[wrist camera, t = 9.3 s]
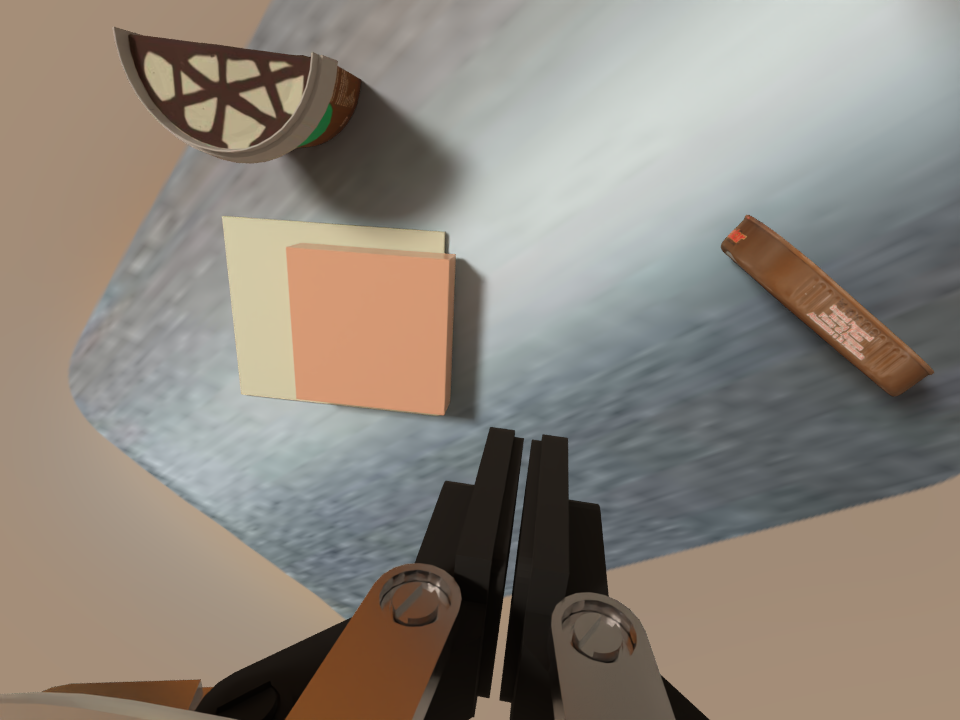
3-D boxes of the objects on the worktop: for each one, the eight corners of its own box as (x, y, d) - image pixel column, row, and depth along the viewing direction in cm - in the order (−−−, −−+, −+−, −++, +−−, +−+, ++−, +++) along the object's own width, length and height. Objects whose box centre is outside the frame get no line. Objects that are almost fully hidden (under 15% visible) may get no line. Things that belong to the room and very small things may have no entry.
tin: (887, 342, 38) (972, 386, 30) (850, 373, 39) (922, 424, 32) (733, 206, 37) (780, 216, 29) (698, 242, 38) (735, 261, 30)
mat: (445, 231, 40) (444, 232, 40) (439, 414, 45) (438, 416, 45) (225, 216, 42) (222, 216, 41) (243, 392, 47) (241, 394, 47)
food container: (217, 152, 40) (115, 147, 31) (214, 60, 38) (103, 25, 29) (376, 175, 39) (319, 177, 30) (381, 82, 37) (322, 53, 28)
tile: (449, 259, 37) (285, 247, 39) (444, 415, 41) (296, 399, 43) (456, 253, 40) (303, 242, 41) (451, 400, 44) (311, 385, 45)
